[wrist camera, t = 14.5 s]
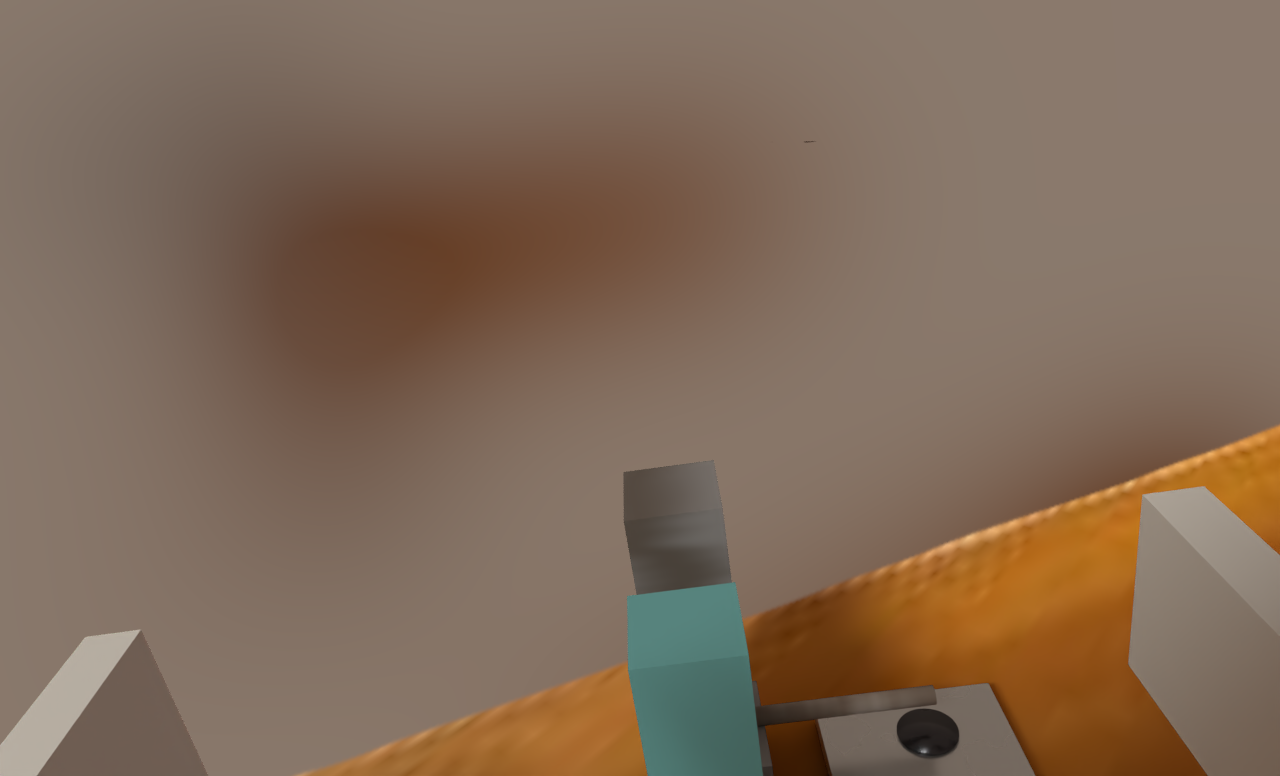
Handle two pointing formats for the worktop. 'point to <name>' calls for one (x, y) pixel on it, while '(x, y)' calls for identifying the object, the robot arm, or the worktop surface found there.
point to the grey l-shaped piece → (717, 575)
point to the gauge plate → (926, 739)
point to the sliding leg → (693, 683)
